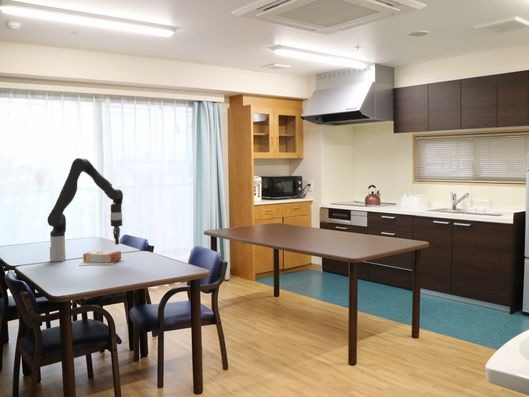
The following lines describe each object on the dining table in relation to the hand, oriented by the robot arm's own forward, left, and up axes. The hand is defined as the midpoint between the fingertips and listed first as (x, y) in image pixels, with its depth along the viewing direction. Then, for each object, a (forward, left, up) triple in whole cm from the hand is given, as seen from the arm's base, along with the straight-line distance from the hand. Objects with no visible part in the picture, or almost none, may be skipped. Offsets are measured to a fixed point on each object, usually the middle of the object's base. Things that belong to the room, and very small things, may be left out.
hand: (117, 244), depth 333 cm
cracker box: (-1, +1, -8) cm, 9 cm away
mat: (-12, 0, -12) cm, 17 cm away
